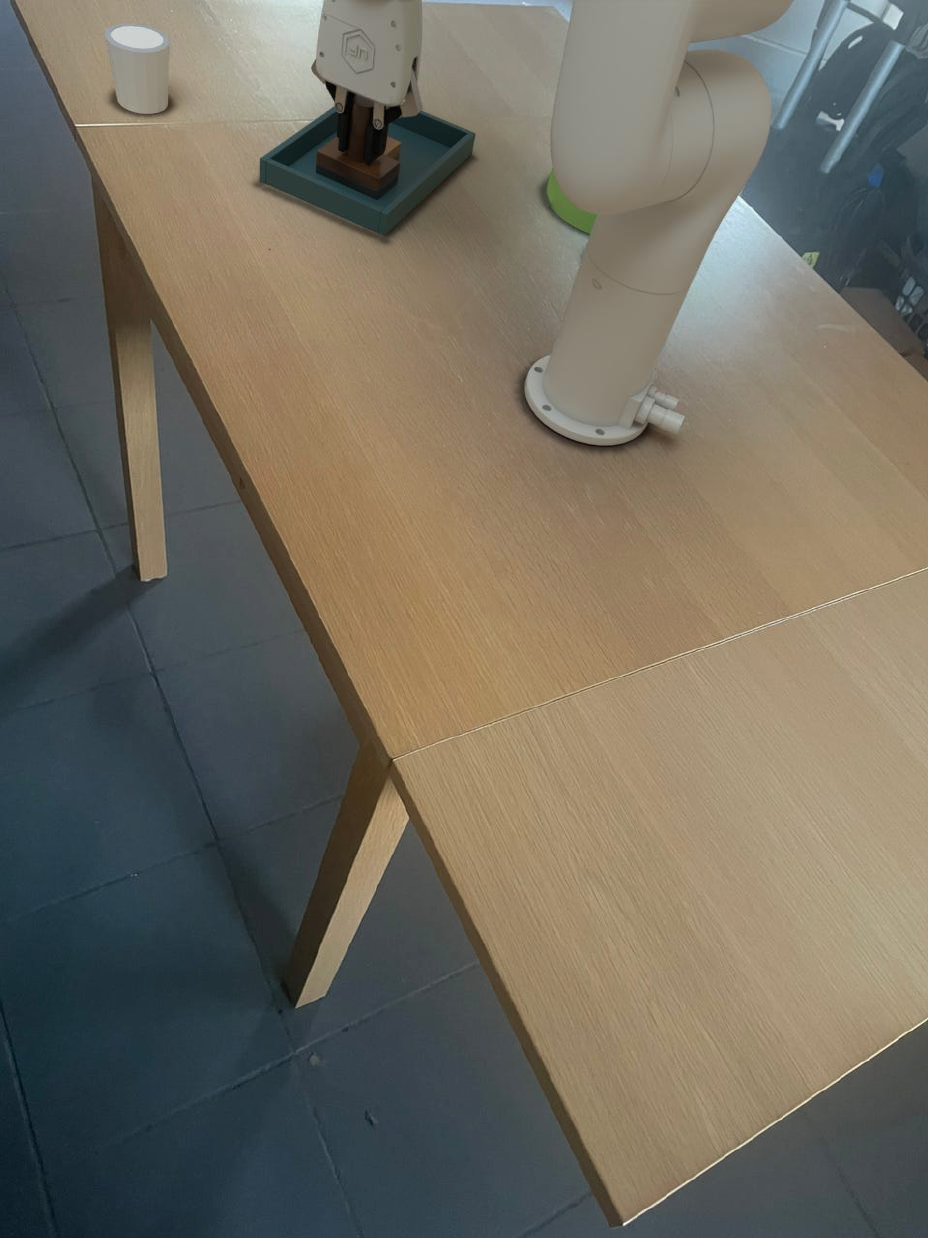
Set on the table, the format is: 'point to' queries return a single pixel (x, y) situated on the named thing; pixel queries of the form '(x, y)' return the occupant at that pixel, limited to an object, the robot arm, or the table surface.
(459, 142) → the tray
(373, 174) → the stamp
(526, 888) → the table surface
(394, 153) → the wooden block
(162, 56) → the white cup
